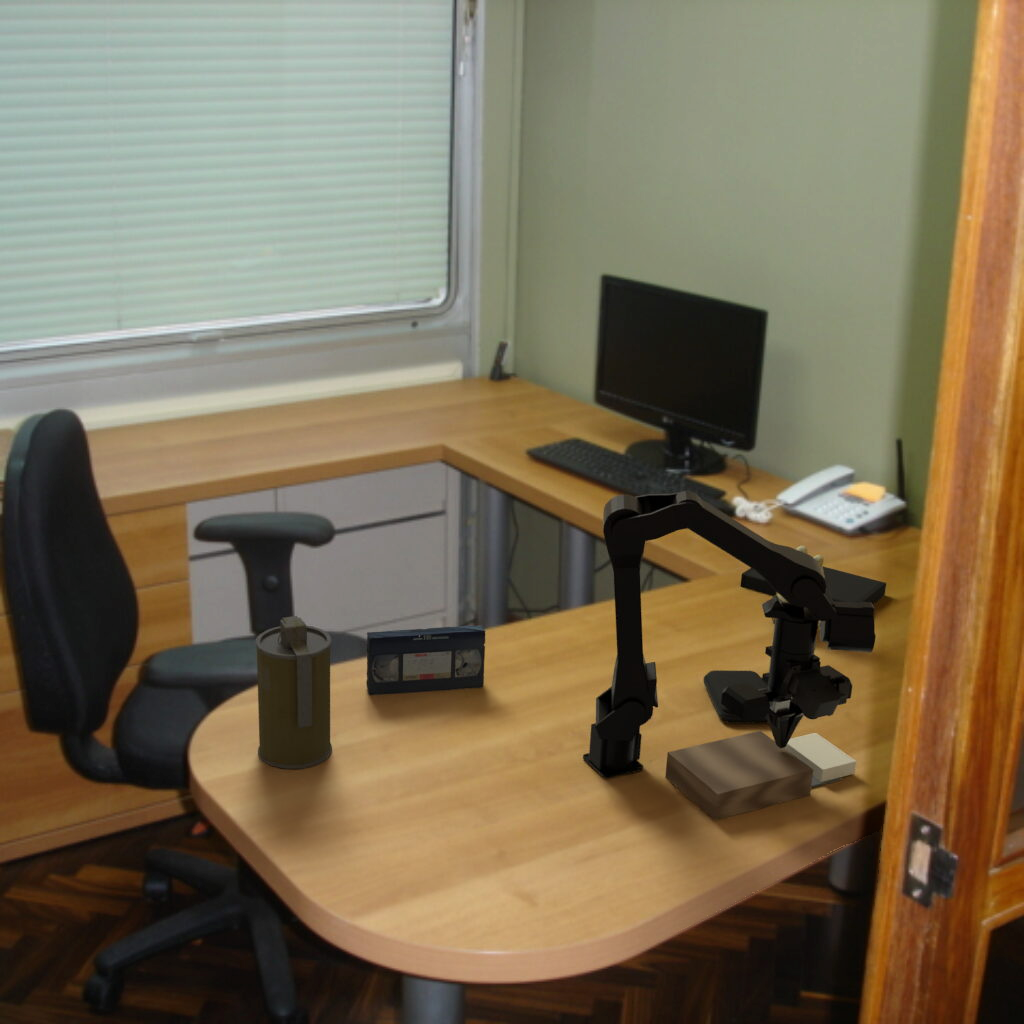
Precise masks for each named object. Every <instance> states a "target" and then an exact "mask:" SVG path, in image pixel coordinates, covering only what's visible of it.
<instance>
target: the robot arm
mask: <svg viewBox="0 0 1024 1024" xmlns="http://www.w3.org/2000/svg"><path fill="white" fill-rule="evenodd" d="M602 523H603V524H602V527H603V528H602V530H603V531H602V532H603V537H604V542H605V545H606V550H607V554H608V557H609V560H610V563H611V568H612V572H613V584H614V585H613V591H614V607H615V609H614V612H615V629H616V631H615V633H616V659H615V662H614V668H613V675H612V679H611V680H612V681H611V686H610V687H609V688H608V689H606V690H604V691H603V692H602V693H601V694H600V695H598V696H597V697H596V698H595V723H591V724H590V738H589V751H588V752H587V753H584V754H583V756H582V759H583V760H584V761H585V762H586V763H587V764H588V765H589V766H591V767H592V768H593V769H594V770H595V771H596V772H597V773H598V774H599V775H600V776H601V777H602V778H604V779H610V778H614V777H618V776H623V775H626V774H631V773H635V772H639V771H643V769H644V765H643V764H642V763H641V762H640V761H639V760H640V758H641V751H642V750H641V749H642V748H641V747H642V738H643V737H642V735H643V734H642V733H641V732H640V731H641V726H643V725H645V724H646V723H648V722H649V720H651V719H652V717H653V715H654V708H658V707H659V701H658V700H659V699H658V690H657V689H658V687H657V681H658V679H657V665H656V661H651V662H646V659H645V656H644V650H643V649H644V648H643V643H644V641H643V622H642V621H643V618H642V617H643V616H642V595H641V593H642V592H641V589H642V588H641V566H642V562H643V556H644V551H645V545H646V542H648V541H652V540H657V539H660V538H662V537H665V536H668V535H670V534H672V533H674V532H678V531H682V530H687V529H688V530H689V531H691V532H693V533H694V534H696V535H697V536H699V537H701V538H702V539H703V540H706V541H708V542H709V543H711V544H712V545H713V546H715V547H717V548H718V549H720V550H721V551H723V552H725V553H726V554H727V555H728V554H729V555H730V556H732V557H733V558H735V559H736V560H738V561H739V562H740V563H742V564H744V565H746V566H747V567H749V568H752V569H754V570H756V571H757V572H758V573H759V574H760V575H761V576H762V577H763V578H764V579H765V580H766V581H767V582H768V583H769V584H770V585H771V587H772V588H773V589H774V590H775V591H776V592H777V593H779V594H780V595H781V596H782V597H783V598H784V599H785V600H786V601H782V600H780V599H779V598H778V596H777V595H774V596H772V598H770V599H768V600H766V601H765V602H763V603H762V605H761V607H762V608H761V609H762V611H763V615H764V617H765V618H770V619H772V618H775V624H774V628H773V636H772V643H771V644H772V645H769V646H765V652H764V654H765V655H766V656H768V657H770V659H769V668H768V669H769V670H768V672H765V673H762V675H761V676H762V677H761V678H762V681H764V682H765V683H767V684H768V688H764V689H759V690H758V689H757V688H755V687H754V686H752V685H751V684H749V683H748V682H746V683H741V684H737V685H732V686H728V687H726V688H725V689H723V692H722V699H721V704H722V705H723V706H725V707H726V708H727V709H729V710H730V711H731V712H733V713H734V714H735V715H737V716H738V717H739V718H741V719H742V720H745V721H752V720H757V719H761V718H764V717H765V716H766V718H767V720H768V722H769V723H768V725H769V729H770V731H771V734H772V737H773V740H774V741H775V743H776V745H777V746H778V747H779V748H784V747H786V745H787V743H788V742H789V740H790V739H791V738H792V736H793V734H794V732H795V730H796V729H797V727H798V726H799V724H800V722H801V720H802V719H803V718H806V719H809V720H817V719H818V718H822V717H827V716H828V717H831V716H832V715H834V713H835V711H836V709H837V707H838V706H840V705H845V704H847V701H848V700H849V699H851V698H852V692H853V683H852V681H851V679H850V678H849V677H848V676H846V675H845V674H843V673H842V672H840V671H839V670H837V669H836V668H834V667H832V666H831V665H830V664H828V665H822V664H821V660H820V659H821V657H820V656H818V655H817V654H815V650H816V648H815V647H816V641H817V637H818V636H817V635H818V629H819V640H820V642H821V643H826V647H827V649H828V651H829V650H831V651H840V652H841V651H843V652H858V653H872V652H873V650H874V647H875V644H876V643H875V642H876V637H877V635H876V633H875V628H876V627H875V607H874V605H872V603H871V602H858V603H852V602H837V601H833V600H832V597H831V595H830V592H829V591H827V590H826V582H825V579H824V576H823V574H822V571H821V569H820V566H819V564H818V562H817V561H816V560H815V559H814V558H813V557H814V556H812V555H810V554H808V553H807V554H806V553H803V552H801V551H798V550H796V549H797V548H794V547H790V546H788V545H783V544H778V543H774V542H773V541H769V540H767V539H766V538H765V537H762V536H761V535H759V534H758V533H756V532H755V531H753V530H752V529H751V528H748V527H746V526H745V525H744V524H742V523H741V522H739V521H737V520H736V519H735V518H732V517H730V516H729V515H728V514H726V513H724V512H723V511H721V510H720V509H718V508H716V507H714V506H713V505H712V504H710V503H709V502H707V501H705V500H703V499H702V497H700V496H699V495H698V494H697V493H695V491H694V492H693V491H690V490H684V491H683V490H682V491H678V492H673V493H648V494H646V493H645V494H641V495H637V496H633V495H632V494H631V495H630V494H619V495H615V496H613V497H611V498H610V499H609V500H608V501H607V502H606V503H605V504H604V507H603V512H602ZM787 601H788V602H787ZM818 621H819V622H820V627H819V628H818ZM817 628H818V629H817ZM821 665H822V666H821Z"/></svg>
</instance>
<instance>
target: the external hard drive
mask: <svg viewBox="0 0 1024 1024" xmlns="http://www.w3.org/2000/svg"><path fill="white" fill-rule="evenodd" d="M822 567H823V571H824V576H825V582H826V590H827V591H829V592H830V595H831V597H832V600H833V601H837V602H852V603H858V602H871V603H872V605H873V606H874V605H875V604H876V603H877V602H879V601H880V600H881V599H882V598H883V597H885V595H886V589H887V582H883V581H880V580H877V579H872V578H869V577H866V576H865V577H864V576H861V575H857V574H854V573H850V572H847V571H842V570H838V569H835V568H831V567H827V566H823V565H822ZM740 579H741V580H740V587H741V588H742V589H743V588H744V589H748V590H751V591H755V592H757V593H762V594H765V595H768V596H772V597H773V596H774V595H776V591H775V590H774V589H773V588H772V587H771V585H770V584H769V583H768V582H767V581H766V580H765V579H764V578H763V577H762V576H761V575H760V574H759V573H758V572H757V571H756V570H754V569H752V568H751V567H749V569H747V570H746V571H744V572H742V573H741V578H740Z"/></svg>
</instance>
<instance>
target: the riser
mask: <svg viewBox="0 0 1024 1024" xmlns="http://www.w3.org/2000/svg"><path fill="white" fill-rule="evenodd" d="M812 777H813V769H812V768H810V767H809V766H808V765H806V764H805V763H804V762H802V761H801V760H800V759H798V758H797V757H796V756H794V755H793V754H791V753H790V752H789V751H787V750H786V749H785V748H779V747H778V746H777V745H776V743H775V740H774V738H771V737H770V736H768V735H767V734H766V733H764V732H763V731H762V730H757V731H753V732H752V731H751V732H749V733H744V734H739V735H736V736H731V737H727V738H723V739H718V740H715V741H709V742H706V743H701V744H698V745H697V744H696V745H692V746H688V747H685V748H684V747H683V748H679V749H675V750H672V751H668V752H667V756H666V767H665V778H666V780H668V781H669V782H670V783H671V784H672V785H674V787H676V789H678V790H679V791H680V792H682V794H684V795H685V796H686V797H687V798H688V799H689V800H690V801H692V802H693V803H694V804H695V805H697V807H699V808H700V809H701V810H703V812H704V813H705V814H707V815H708V816H709V817H710V818H711V819H712V820H714V821H717V820H721V819H726V818H729V817H733V816H737V815H740V814H744V813H747V812H752V811H756V810H759V809H762V808H766V807H767V808H768V807H771V806H774V805H778V804H782V803H786V802H789V801H793V800H796V799H800V798H804V797H808V796H809V797H810V796H811V792H812V788H811V784H812Z"/></svg>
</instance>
